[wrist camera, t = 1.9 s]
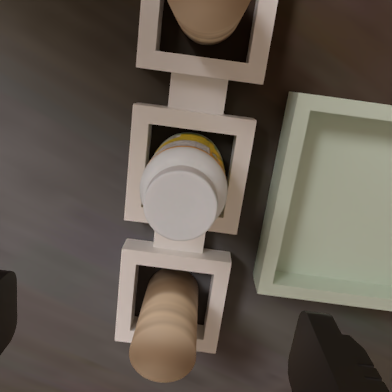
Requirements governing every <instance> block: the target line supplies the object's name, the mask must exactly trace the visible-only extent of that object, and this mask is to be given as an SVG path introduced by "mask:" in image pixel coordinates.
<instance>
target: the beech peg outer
mask: <svg viewBox="0 0 392 392" xmlns="http://www.w3.org/2000/svg"><path fill="white" fill-rule="evenodd" d="M197 316H198V284H197V282H196V280H195V278H194V277H193V276H192V275H191V274H190V273H189V272H187V271H182V270H175V269H167V268H163V269H161V270H159V271H157V272H156V273H155V274H154V275H153V276H152V277H151V278H150V280H149V283H148V286H147V290H146V293H145V297H144V300H143V304H142V307H141V311H140V314H139V318H138V321H137V325H136V328H135V332H134V335H133V339H132V342H131V346H130V350H129V357H130V361H131V364H132V366H133V367H134V369H135V370H136V371H137V372H138V373H139V374H140V375H142V376H143V377H145V378H147V379H149V380H151V381H155V382H162V383H166V382H173V381H177V380H179V379H181V378H183V377H185V376H186V375H187V374H188V373H189V372H190V371H191V370H192V368H193V367H194V364H195V361H196V342H197Z"/></svg>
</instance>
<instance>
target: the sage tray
mask: <svg viewBox="0 0 392 392" xmlns="http://www.w3.org/2000/svg"><path fill="white" fill-rule="evenodd" d="M253 278H254V282H255V287H256V291H257V294H263V295H270V296H278V297H286V298H293V299H301V300H309V301H316V302H324V303H332V304H339V305H347V306H355V307H362V308H370V309H378V310H386V311H392V105H386V104H378V103H371V102H364V101H356V100H349V99H342V98H334V97H327V96H320V95H312V94H305V93H298V92H290V91H289V93H288V98H287V103H286V108H285V113H284V118H283V123H282V128H281V133H280V138H279V143H278V148H277V154H276V159H275V164H274V169H273V174H272V179H271V184H270V189H269V194H268V199H267V204H266V209H265V214H264V219H263V224H262V229H261V234H260V239H259V244H258V250H257V255H256V260H255V265H254V270H253Z"/></svg>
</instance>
